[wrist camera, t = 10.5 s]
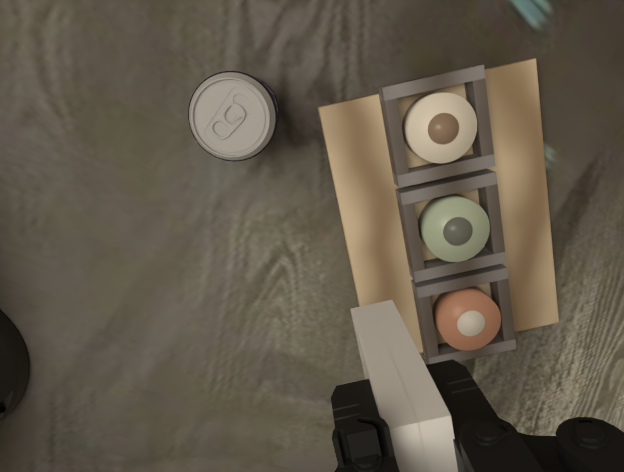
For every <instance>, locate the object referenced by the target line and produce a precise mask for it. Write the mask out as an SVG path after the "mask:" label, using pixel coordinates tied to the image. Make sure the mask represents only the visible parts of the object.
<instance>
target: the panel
mask: <svg viewBox="0 0 624 472" xmlns="http://www.w3.org/2000/svg"><path fill="white" fill-rule="evenodd" d="M429 93H453V94H456V95H459V96H461V97H462V98H464V99H465V100H466V101H467V102H468V103H469V104H470V105H471V106H472V108H473V110H474V112H475V115H476V118H477V132H476V136H475V139H474V142H473V144H472V145H471V147H470V148H469V149H468V151H467V152H466V153H465V154H464V155H462V156H461V157H460V158H458V159H456V160H454V161H451V162H448V163H433V162H430V161H427V160H425V159H423V158H421V157H419V156H417V155H415V154H414V153H413V152H412V151H411V150H410V149H409V148H408V147H407V145H406V143H405V141H404V138H403V132H402V122H403V118H404V115H405V113H406V111H407V109H408V108H409V106H410V105H411V104H412V103H413V102H414V101H415V100H416V99H418V98H419V97H421V96H423V95H426V94H429ZM317 109H318V114H319V118H320V123H321V128H322V133H323V138H324V142H325V147H326V152H327V157H328V161H329V166H330V171H331V176H332V181H333V185H334V190H335V195H336V200H337V205H338V209H339V214H340V219H341V224H342V229H343V233H344V238H345V243H346V248H347V253H348V257H349V262H350V267H351V272H352V276H353V281H354V286H355V291H356V296H357V300H358V305H359V307H361V306H365V305H370V304H374V303H379V302H383V301H388V300H393V302H394V304H395V306H396V308H397V310H398V312H399V314H400V316H401V318H402V320H403V322H404V324H405V326H406V328H407V330H408V332H409V334H410V336H411V338H412V340H413V342H414V344H415V346H416V347H417V349H418V351H419V353H422V352H424V357H425V359H426V361H427V363H428V364H433V363H438V362H442V361H447V360H451V359H453V360H455V361H457V362H459V361H464V360H468V359H473V358H477V357H482V356H486V355H491V354H495V353H500V352H505V351H509V350H514V349H516V341H515V332H517V331H522V330H527V329H531V328H536V327H540V326H545V325H549V324H554V323H558V322H559V319H558V307H557V296H556V284H555V273H554V261H553V250H552V238H551V227H550V215H549V204H548V192H547V181H546V169H545V158H544V146H543V135H542V123H541V112H540V100H539V89H538V77H537V66H536V59H529V60H522V61H518V62H514V63H509V64H505V65H500V66H496V67H492V68H487V69H484V65H478V66H472V67H468V68H463V69H459V70H454V71H450V72H446V73H441V74H437V75H432V76H428V77H424V78H419V79H415V80H410V81H406V82H402V83H397V84H393V85H388V86H384V87H380V88H378V93H377V94H373V95H368V96H364V97H359V98H355V99H351V100H346V101H342V102H337V103H333V104H329V105H324V106H320V107H317ZM450 194H459V195H462V196H464V197H466V198H468V199H470V200H471V201H473V202H475V203H476V204H478V205H479V206H480V207H481V208H482V209H483V210H484V211H485V212H486V214H487V216H488V219H489V224H490V232H489V237H488V239H487V242H486V244H485V245H484V247H483V248H482V249H481V251H480V252H479V253H477V254H476V255H475V256H473V257H472V258H470V259H468V260H465V261H461V262H448V261H444V260H442V259H440V258H438V257H437V256H435V255H434V254H433V253H432V252H431V251H430V250H429V248H428V247H427V246H426V245H425V244H424V243H423V241H422V240H421V238H420V235H419V229H418V220H419V216H420V214H421V212H422V210H423V208H424V207H425V206H426V204H427V203H429V202H430V201H431V200H432V199H434V198H437V197H441V196H446V195H450ZM472 286H477V287H479V288H480V289H481V290H483V291H484V292H485V293H486V294H487V295H488V296H489V297H490V298H491V299H492V300H493V301H494V302H495V304H496V305H497V306H498V308H499V311H500V314H501V324H500V328H499V331H498V332H497V334H496V336H495V337H494V338H493V339H492V341H490V342H489V343H488V344H487V345H485V346H483V347H481V348H479V349H475V350H469V351H465V350H459V349H456V348H454V347H452V346H450V345H449V344H448V343H447V342H446V341H445V340H444V338H443V337H442V335H441V334H440V332H439V330H438V329H437V327H436V326H435V324H434V321H433V315H432V310H433V306H434V303H435V301H436V299H437V298H438V296H439V295H440V294H441V293H445V292H449V291H454V290H458V289H463V288H467V287H472Z"/></svg>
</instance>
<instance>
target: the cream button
mask: <svg viewBox="0 0 624 472" xmlns="http://www.w3.org/2000/svg"><path fill="white" fill-rule="evenodd" d="M402 132H403V138H404V141H405V143H406V145H407V147H408V148H409V149H410V150H411V151H412V152H413V153H414V154H415V155H417V156H419V157H421V158H423V159H425V160H427V161H430V162H433V163H448V162H451V161H454V160H456V159H458V158H460V157H461V156H462V155H464V154H465V153H466V152H467V151H468V149H469V148H470V147H471V145H472V144H473V142H474V139H475V136H476V132H477V118H476V115H475V112H474V110H473V108H472V106H471V105H470V104H469V103H468V102H467V101H466V100H465V99H464V98H462V97H461V96H459V95H456V94H453V93H429V94H426V95H423V96H421V97H419V98H418V99H416V100H415V101H414V102H413V103H412V104H411V105H410V106H409V108H408V109H407V111H406V113H405V115H404V118H403V122H402Z"/></svg>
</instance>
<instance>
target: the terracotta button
mask: <svg viewBox="0 0 624 472" xmlns="http://www.w3.org/2000/svg"><path fill="white" fill-rule="evenodd" d="M432 315H433V321H434V324H435V326H436V327H437V329H438V330H439V332H440V334H441V335H442V337H443V338H444V340H445V341H446V342H447V343H448V344H449V345H450V346H452V347H454V348H456V349H459V350H465V351H469V350H475V349H479V348H481V347H483V346H485V345H487V344H488V343H489V342H490V341H492V339H493V338H494V337H495V336H496V334H497V332H498V331H499V328H500V324H501V314H500V311H499V308H498V306H497V305H496V304H495V302H494V301H493V300H492V299H491V298H490V297H489V296H488V295H487V294H486V293H485V292H484V291H483V290H481V289H480V288H479V287H477V286H472V287H467V288H463V289H458V290H454V291H449V292H445V293H441V294H440V295H439V296H438V298H437V299H436V301H435V303H434V306H433V310H432Z"/></svg>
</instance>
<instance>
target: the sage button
mask: <svg viewBox="0 0 624 472" xmlns="http://www.w3.org/2000/svg"><path fill="white" fill-rule="evenodd" d="M418 229H419V235H420V238H421V240H422V241H423V243H424V244H425V245H426V246H427V247H428V248H429V250H430V251H431V252H432V253H433V254H434V255H435V256H437V257H438V258H440V259H442V260H444V261H448V262H461V261H465V260H468V259H470V258H472V257H473V256H475V255H476V254H477V253H479V252H480V251H481V249H482V248H483V247H484V245H485V244H486V242H487V239H488V237H489V232H490V224H489V219H488V216H487V214H486V212H485V211H484V210H483V209H482V208H481V207H480V206H479V205H478V204H476V203H475V202H473V201H471V200H470V199H468V198H466V197H464V196H462V195H459V194H450V195H446V196H441V197H437V198H434V199H432V200H431V201H430V202H429V203H427V204H426V206H425V207H424V208H423V210H422V212H421V214H420V216H419V220H418Z"/></svg>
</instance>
